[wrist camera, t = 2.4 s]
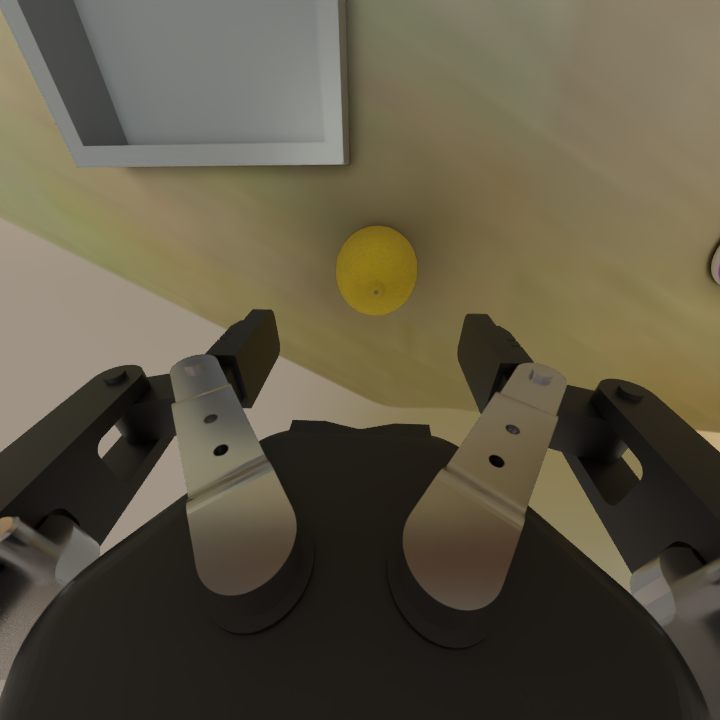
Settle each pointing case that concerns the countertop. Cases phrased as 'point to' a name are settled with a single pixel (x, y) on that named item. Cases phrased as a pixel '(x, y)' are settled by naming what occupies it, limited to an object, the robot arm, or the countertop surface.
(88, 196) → the countertop surface
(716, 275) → the supplement bottle
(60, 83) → the box
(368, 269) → the lemon
